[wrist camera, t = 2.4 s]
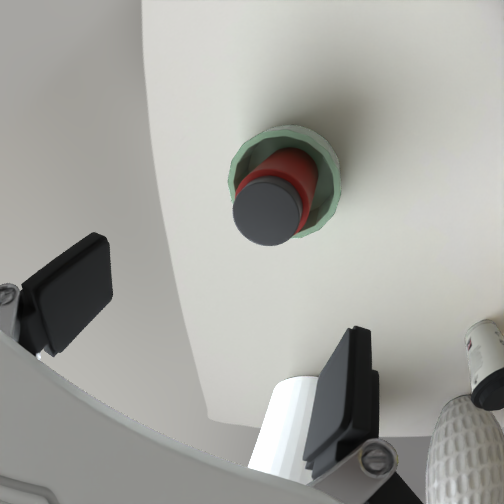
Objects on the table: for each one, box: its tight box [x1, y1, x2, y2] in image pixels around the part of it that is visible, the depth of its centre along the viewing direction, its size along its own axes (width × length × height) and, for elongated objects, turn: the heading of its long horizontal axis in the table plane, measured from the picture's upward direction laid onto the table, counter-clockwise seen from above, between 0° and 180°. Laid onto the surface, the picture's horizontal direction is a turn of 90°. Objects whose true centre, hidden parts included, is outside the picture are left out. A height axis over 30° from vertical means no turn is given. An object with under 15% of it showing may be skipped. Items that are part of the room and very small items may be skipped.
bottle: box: [248, 376, 319, 485], centre depth 30 cm, size 12×12×25 cm
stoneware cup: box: [228, 125, 341, 238], centre depth 24 cm, size 9×9×4 cm
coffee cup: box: [465, 320, 504, 411], centre depth 24 cm, size 7×7×10 cm
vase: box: [425, 395, 504, 504], centre depth 23 cm, size 13×13×28 cm
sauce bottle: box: [233, 147, 318, 246], centre depth 22 cm, size 5×5×10 cm
